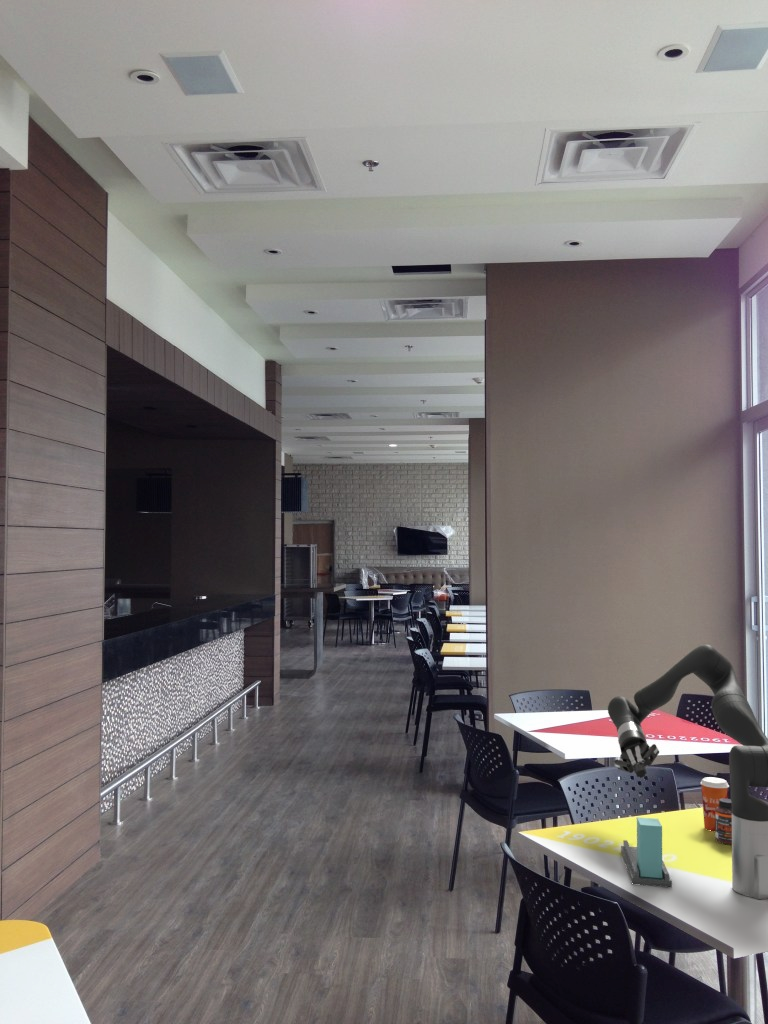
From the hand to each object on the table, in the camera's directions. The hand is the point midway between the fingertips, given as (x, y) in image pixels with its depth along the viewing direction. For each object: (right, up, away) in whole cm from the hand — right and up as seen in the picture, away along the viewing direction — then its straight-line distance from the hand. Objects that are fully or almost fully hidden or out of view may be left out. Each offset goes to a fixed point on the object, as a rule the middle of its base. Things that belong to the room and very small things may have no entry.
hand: (641, 774), depth 218 cm
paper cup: (+28, -22, +20) cm, 41 cm away
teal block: (-4, -17, -20) cm, 27 cm away
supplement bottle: (+26, -22, +9) cm, 35 cm away
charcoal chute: (-3, -19, -13) cm, 23 cm away
